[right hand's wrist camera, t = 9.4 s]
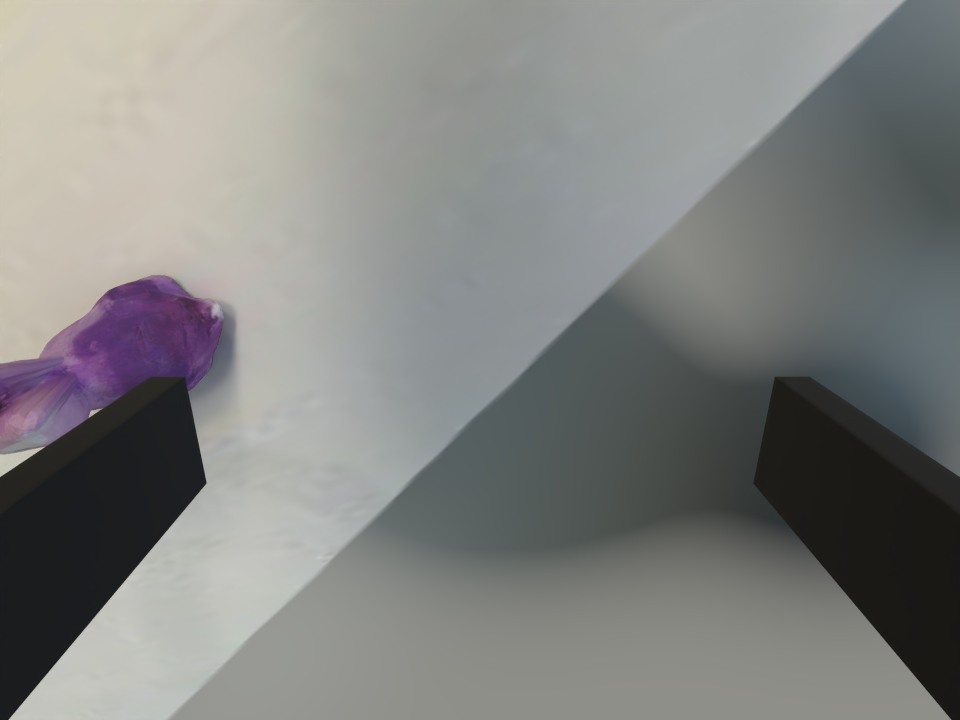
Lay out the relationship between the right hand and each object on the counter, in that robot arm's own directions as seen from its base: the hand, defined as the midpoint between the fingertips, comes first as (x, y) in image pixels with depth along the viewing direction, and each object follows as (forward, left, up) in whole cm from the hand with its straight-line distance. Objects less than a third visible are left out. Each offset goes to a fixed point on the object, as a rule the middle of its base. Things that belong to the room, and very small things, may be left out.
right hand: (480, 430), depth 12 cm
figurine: (+9, -23, -27) cm, 37 cm away
